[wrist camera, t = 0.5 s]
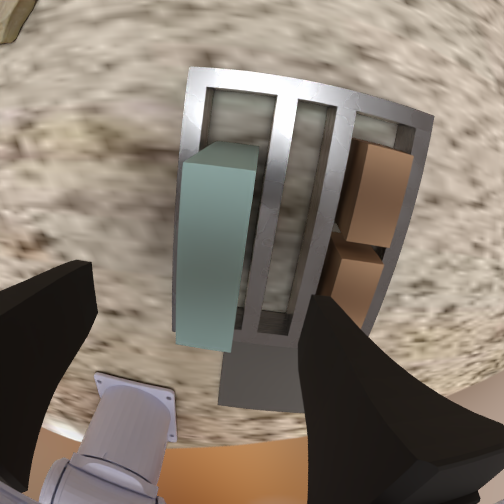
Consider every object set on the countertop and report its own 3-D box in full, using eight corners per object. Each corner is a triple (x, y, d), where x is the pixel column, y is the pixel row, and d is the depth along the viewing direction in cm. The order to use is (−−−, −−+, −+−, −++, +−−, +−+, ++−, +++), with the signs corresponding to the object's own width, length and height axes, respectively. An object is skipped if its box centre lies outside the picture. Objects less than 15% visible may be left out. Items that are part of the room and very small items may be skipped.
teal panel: (241, 269, 21) (230, 352, 14) (204, 263, 21) (175, 344, 14) (259, 146, 18) (256, 170, 10) (216, 140, 18) (183, 162, 10)
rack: (353, 331, 23) (361, 353, 21) (180, 310, 23) (172, 331, 20) (415, 114, 16) (434, 115, 14) (199, 72, 16) (189, 66, 14)
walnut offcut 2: (344, 301, 22) (357, 336, 18) (311, 297, 22) (318, 333, 18) (364, 236, 20) (384, 264, 16) (328, 230, 20) (341, 258, 16)
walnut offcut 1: (368, 222, 19) (389, 248, 16) (331, 215, 19) (346, 240, 16) (386, 146, 17) (413, 155, 14) (347, 136, 17) (368, 143, 14)
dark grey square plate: (324, 410, 27) (324, 413, 27) (218, 401, 27) (217, 405, 27) (359, 331, 23) (360, 334, 23) (228, 317, 23) (227, 320, 22)
